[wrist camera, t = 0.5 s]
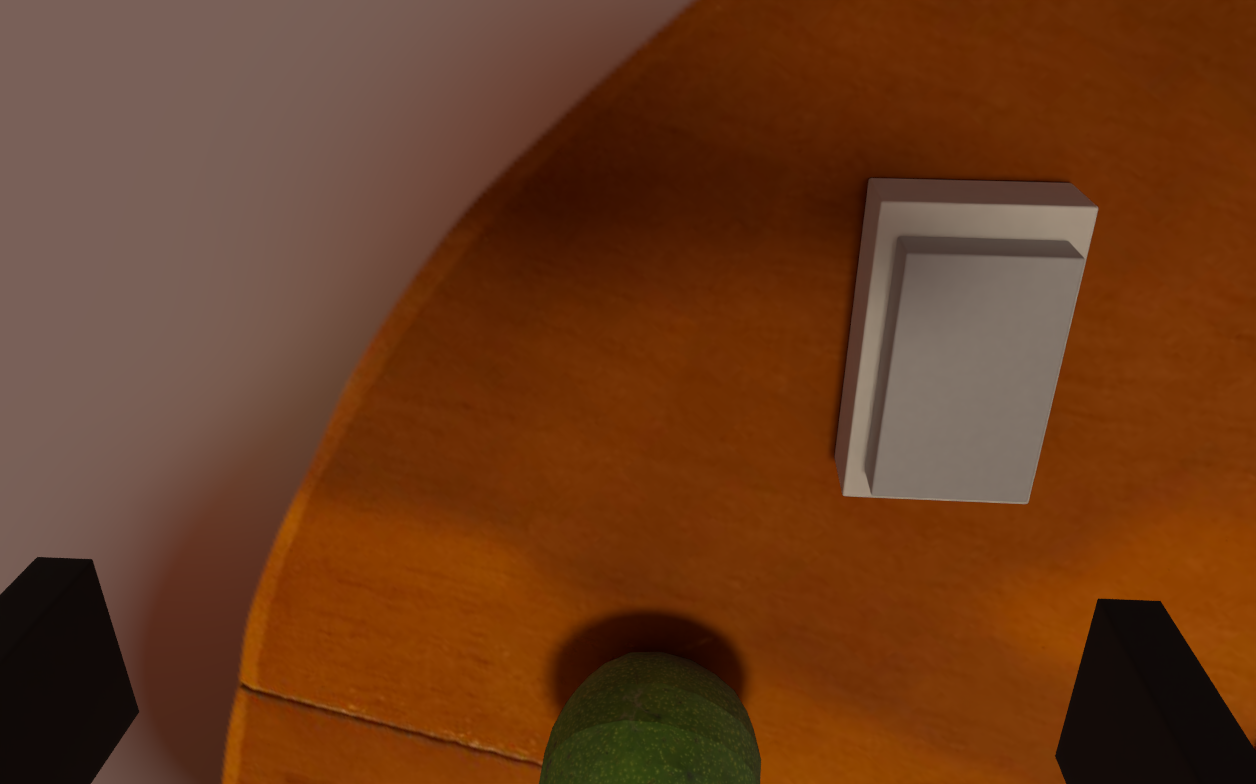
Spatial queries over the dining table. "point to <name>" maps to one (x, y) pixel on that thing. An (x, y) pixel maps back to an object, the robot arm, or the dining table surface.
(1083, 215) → the stepped grey block
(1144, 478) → the dining table surface
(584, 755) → the fruit
